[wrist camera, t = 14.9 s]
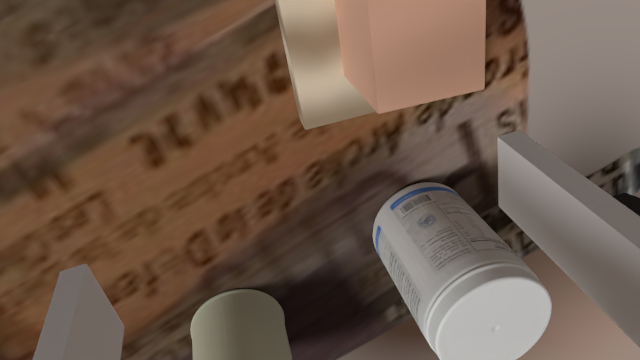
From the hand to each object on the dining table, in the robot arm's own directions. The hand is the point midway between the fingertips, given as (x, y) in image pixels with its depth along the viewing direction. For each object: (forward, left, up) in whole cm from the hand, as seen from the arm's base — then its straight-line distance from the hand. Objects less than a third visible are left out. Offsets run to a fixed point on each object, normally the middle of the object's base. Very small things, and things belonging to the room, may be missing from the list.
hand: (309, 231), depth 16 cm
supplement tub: (+20, +12, -25) cm, 35 cm away
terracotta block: (0, +10, -23) cm, 25 cm away
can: (+27, -7, -25) cm, 38 cm away
